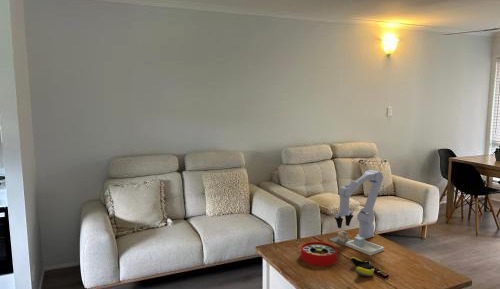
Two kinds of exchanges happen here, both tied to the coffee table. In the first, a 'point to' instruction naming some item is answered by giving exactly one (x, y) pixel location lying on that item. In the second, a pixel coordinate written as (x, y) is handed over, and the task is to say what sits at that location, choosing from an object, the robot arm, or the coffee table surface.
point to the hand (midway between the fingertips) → (343, 226)
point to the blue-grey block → (359, 241)
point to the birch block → (342, 236)
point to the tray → (366, 247)
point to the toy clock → (319, 253)
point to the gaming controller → (362, 267)
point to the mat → (339, 241)
